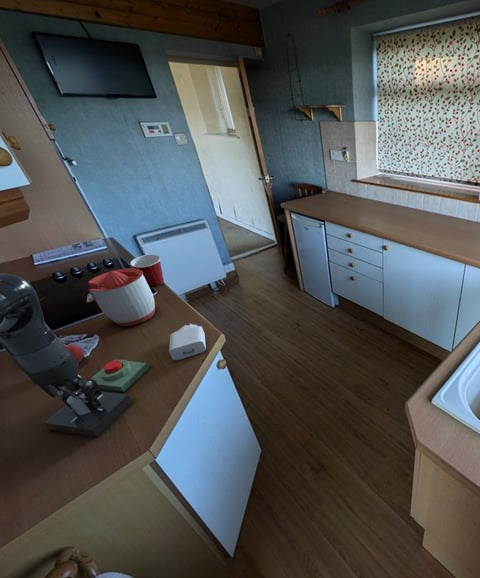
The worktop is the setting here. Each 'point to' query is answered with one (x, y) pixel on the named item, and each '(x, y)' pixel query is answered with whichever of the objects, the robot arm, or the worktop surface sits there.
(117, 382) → the block
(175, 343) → the charger
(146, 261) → the plastic cup
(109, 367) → the button
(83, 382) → the robot arm
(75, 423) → the panel
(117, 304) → the citrus juicer
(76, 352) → the red round fruit
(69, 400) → the burner knob
